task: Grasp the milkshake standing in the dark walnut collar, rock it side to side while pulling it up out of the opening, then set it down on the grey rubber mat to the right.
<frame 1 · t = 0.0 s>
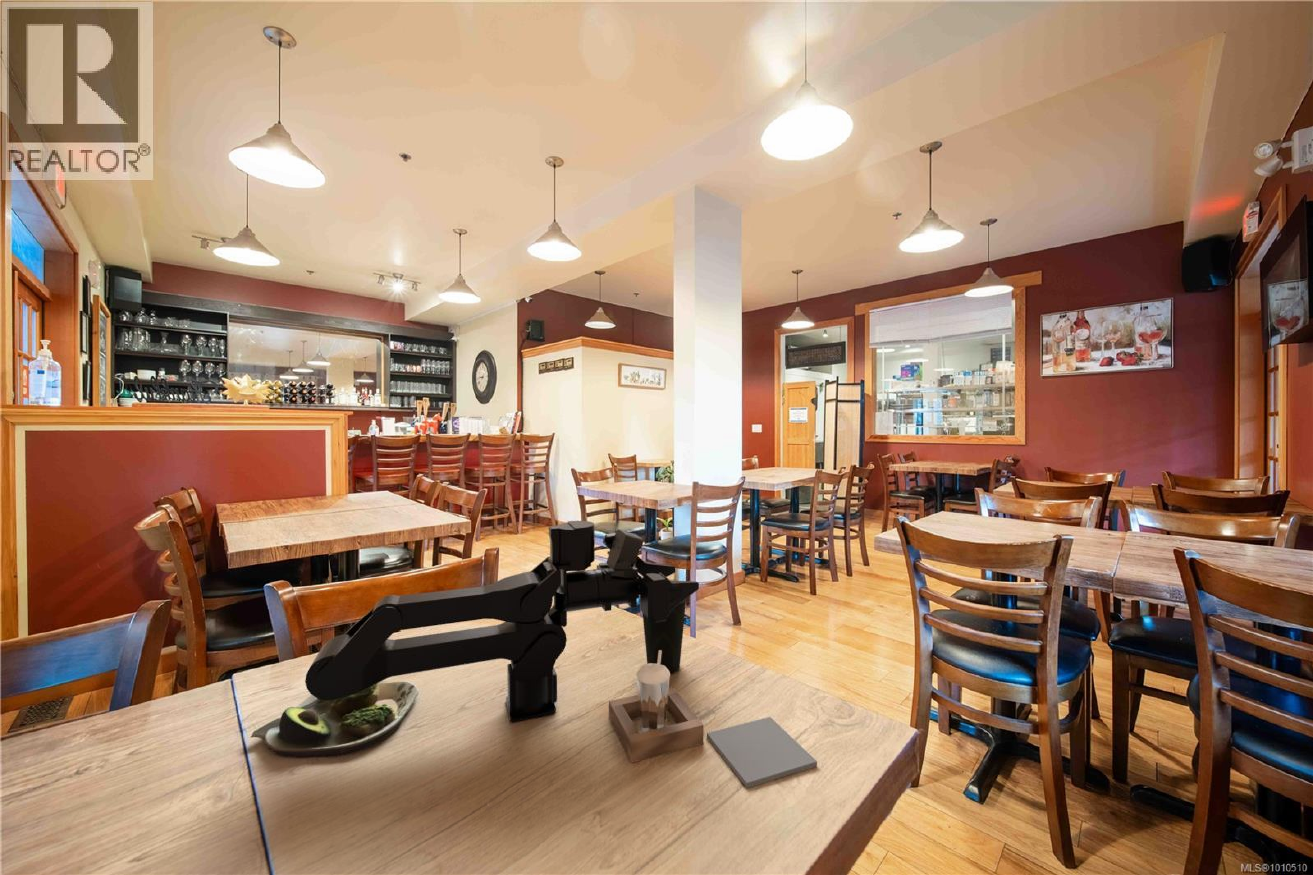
hand: (686, 577, 83), 17 cm above the table, tool horizontal, fingers open, 9 cm apart
collar: (654, 730, 69), on the table
milkshake: (654, 731, 69), on the table
mat: (759, 751, 65), on the table
cup: (663, 668, 87), on the table
salad plate: (343, 725, 71), on the table
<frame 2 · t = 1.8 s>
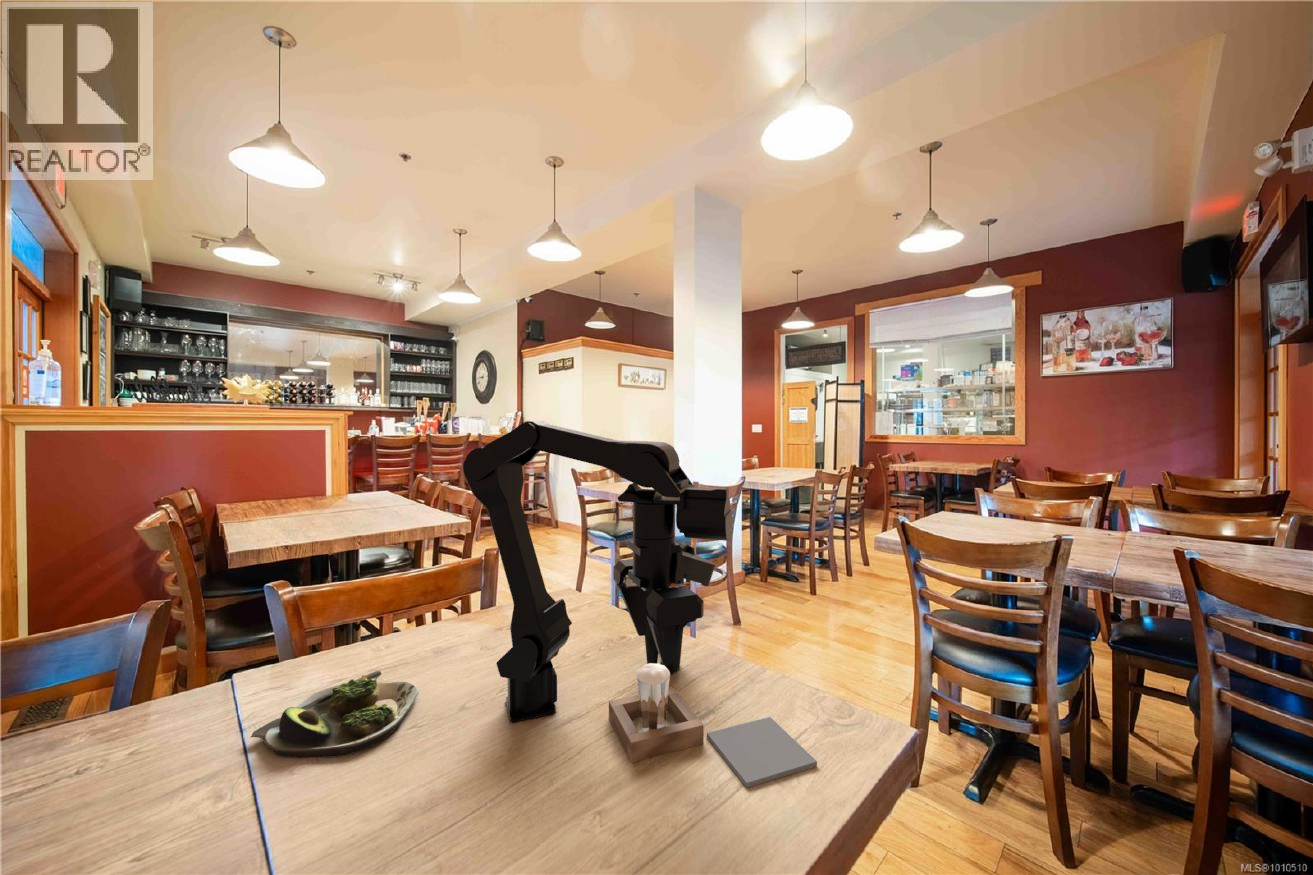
hand: (653, 648, 69), 11 cm above the table, tool pointing down, fingers open, 9 cm apart
nothing on the table moved.
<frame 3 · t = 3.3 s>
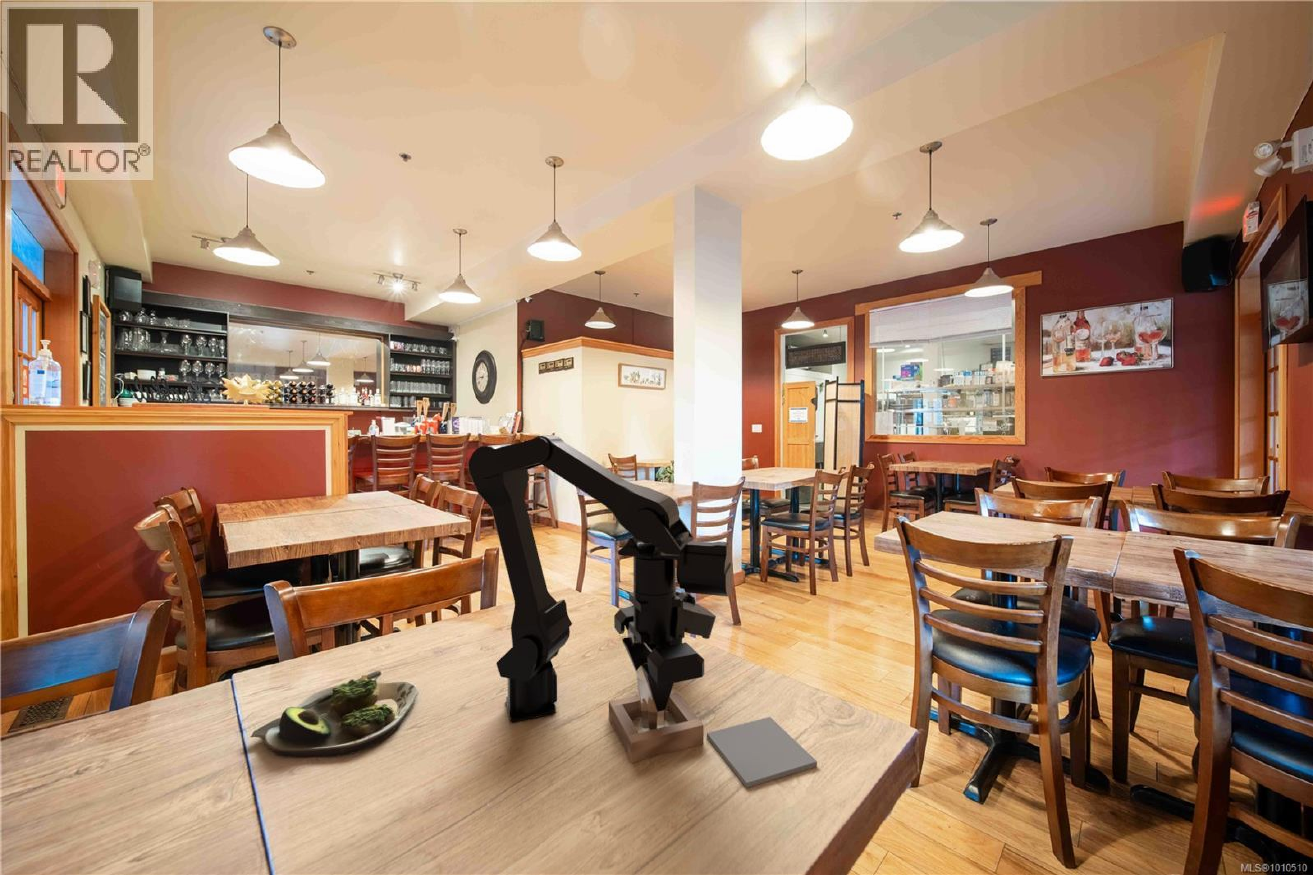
hand: (654, 701, 69), 4 cm above the table, tool pointing down, fingers closed on milkshake, 4 cm apart
milkshake: (654, 731, 69), on the table, touching gripper
everything else where it was.
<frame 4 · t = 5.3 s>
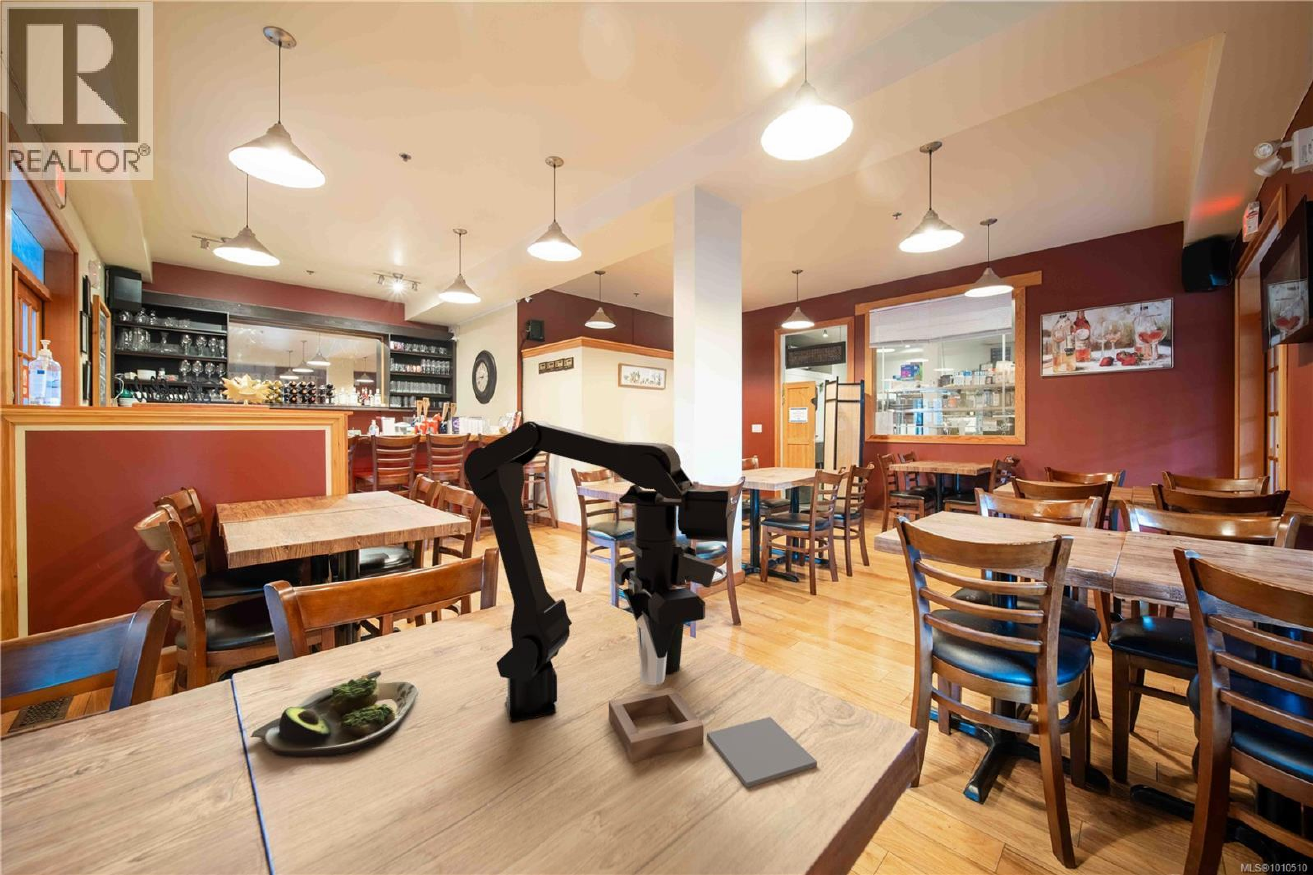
hand: (655, 650, 69), 11 cm above the table, tool pointing down, fingers closed on milkshake, 4 cm apart
milkshake: (653, 680, 69), point 7 cm above the table, touching gripper
everything else where it was.
when the fingers open (5 cm above the table, at t = 7.7 s): milkshake stays where it is, resting on mat.
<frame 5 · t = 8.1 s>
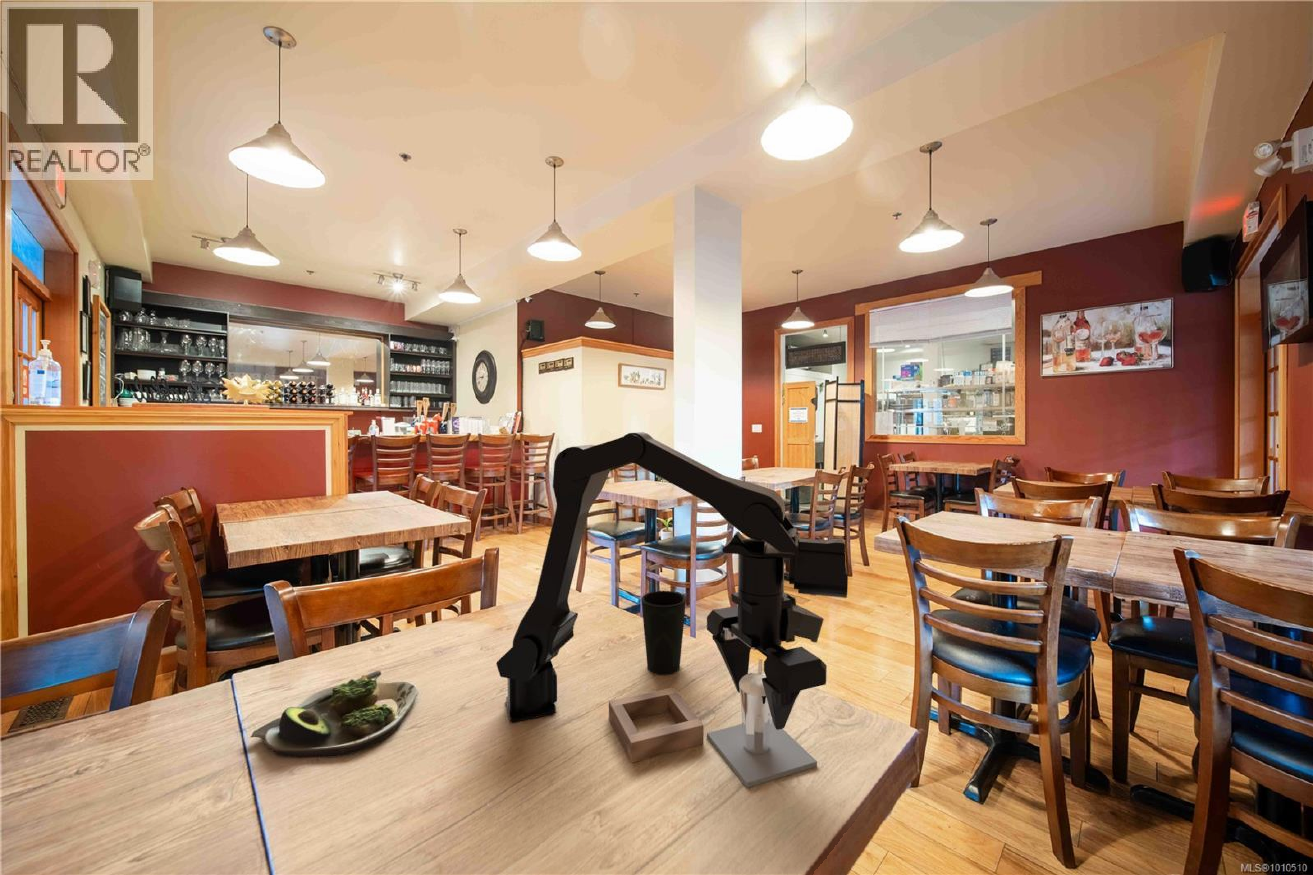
hand: (759, 709, 64), 5 cm above the table, tool pointing down, fingers open, 8 cm apart
milkshake: (756, 746, 65), resting on mat
everything else where it was.
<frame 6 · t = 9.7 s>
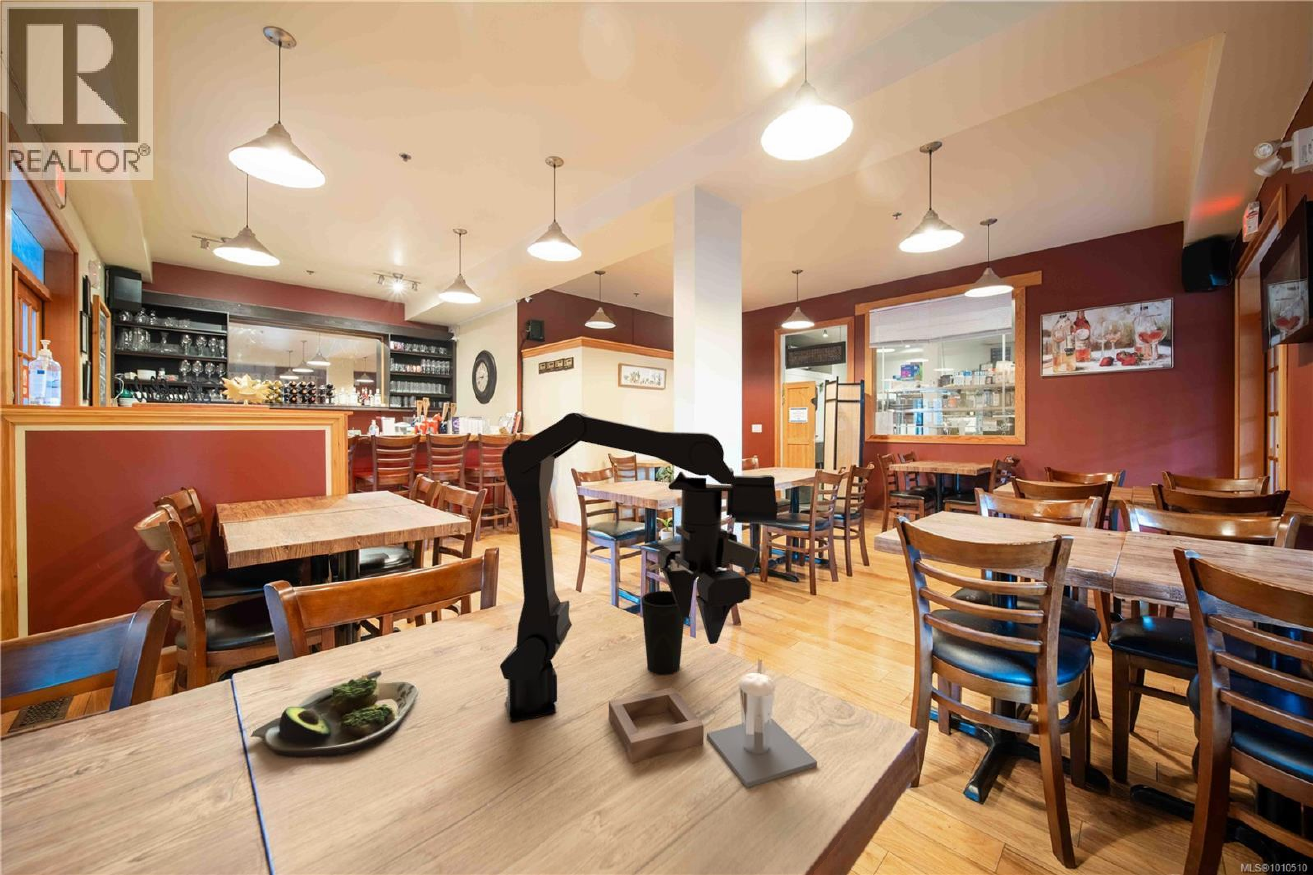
hand: (698, 629, 72), 13 cm above the table, tool pointing down, fingers open, 9 cm apart
nothing on the table moved.
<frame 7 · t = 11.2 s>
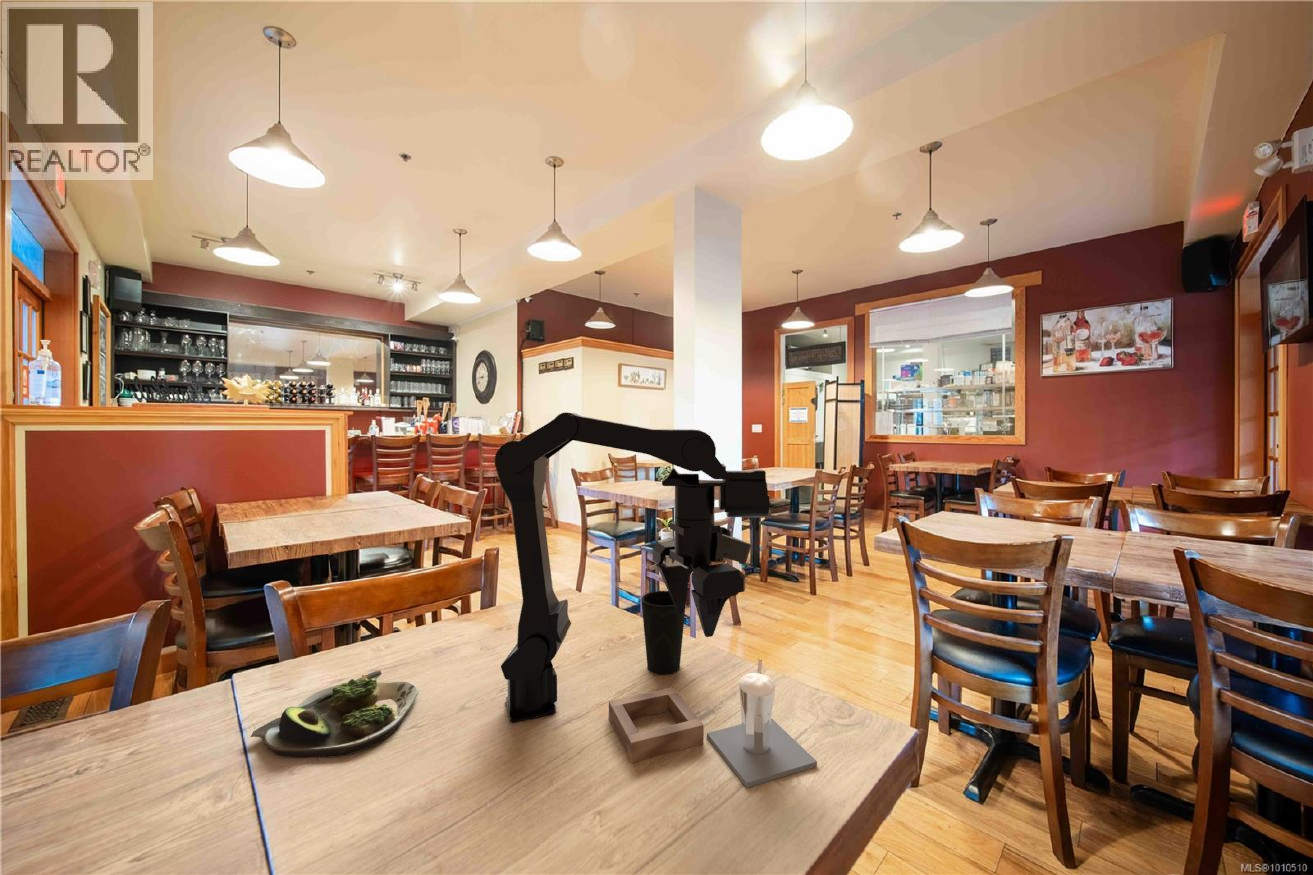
hand: (694, 623, 73), 13 cm above the table, tool pointing down, fingers open, 9 cm apart
nothing on the table moved.
at the end: milkshake 0.5 cm from the mat (horizontally); milkshake tilted 0°; the gripper is holding nothing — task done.
